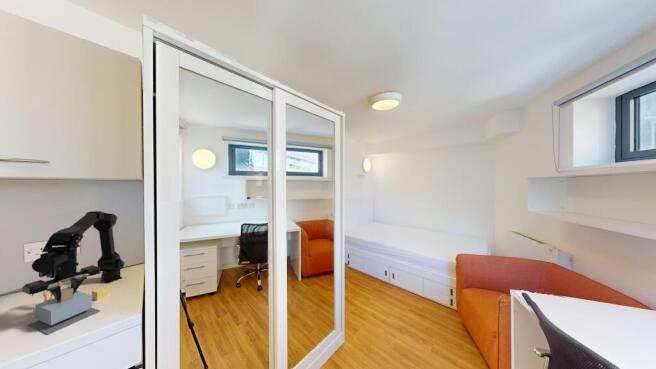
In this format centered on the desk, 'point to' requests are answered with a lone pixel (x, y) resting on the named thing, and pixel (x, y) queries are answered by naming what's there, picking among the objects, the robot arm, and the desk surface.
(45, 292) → the figurine
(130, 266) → the desk surface
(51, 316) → the cover
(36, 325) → the mat
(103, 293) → the cube
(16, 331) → the desk surface
